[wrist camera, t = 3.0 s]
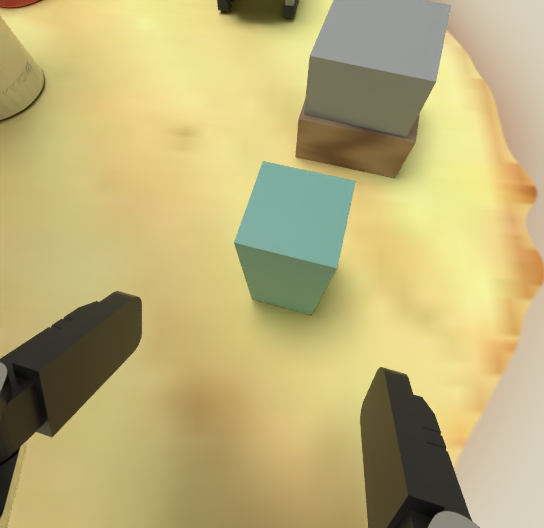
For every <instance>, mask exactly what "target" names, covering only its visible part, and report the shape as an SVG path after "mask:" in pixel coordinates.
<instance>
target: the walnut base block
mask: <svg viewBox="0 0 544 528" xmlns="http://www.w3.org/2000/svg"><path fill="white" fill-rule="evenodd" d="M305 100H306V99H305ZM304 110H305V102H304V105H303V108H302V111H301V114H300V117H299V122H298V133H297V145H296V157H298V158H303V159H308V160H312V161H317V162H322V163H326V164H331V165H336V166H340V167H345V168H350V169H354V170H359V171H364V172H368V173H373V174H378V175H383V176H387V177H392V178H395V176H396V175H397V173H398V171H399V170H400V168H401V166H402V165H403V163H404V161H405V159H406V158H407V156H408V154H409V153H410V151H411V149H412V148H413V146H414V144H415V142H416V135H417V128H418V121H419V115H418V117H417V119H416V120H415V122H414V124H413V126H412V128H411V130H410V132H409V134H408V135H407V137H406V138H405V137H401V136H396V135H392V134H388V133H384V132H379V131H375V130H371V129H366V128H362V127H358V126H354V125H349V124H345V123H341V122H336V121H332V120H328V119H323V118H319V117H315V116H311V115H306V114H304Z"/></svg>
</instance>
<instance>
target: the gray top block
mask: <svg viewBox="0 0 544 528" xmlns="http://www.w3.org/2000/svg"><path fill="white" fill-rule="evenodd" d="M449 12H450V5H447V4H441V3H435V2H429V1H423V0H334V1H333V3H332V5H331V8H330V10H329V12H328V15H327V17H326V19H325V22H324V24H323V26H322V29H321V31H320V33H319V36H318V38H317V40H316V43H315V45H314V47H313V50H312V52H311V54H310V60H309V70H308V80H307V90H306V100H305V110H304V114H306V115H311V116H315V117H319V118H323V119H328V120H332V121H336V122H341V123H345V124H349V125H354V126H358V127H362V128H366V129H371V130H375V131H379V132H384V133H388V134H392V135H396V136H401V137H405V138H406V137H407V135H408V134H409V132H410V130H411V128H412V126H413V124H414V122H415V120H416V119H417V117H418V115H419V113H420V111H421V109H422V107H423V105H424V103H425V102H426V100H427V98H428V96H429V94H430V92H431V90H432V88H433V87H434V85H435V83H436V79H437V74H438V69H439V64H440V59H441V53H442V48H443V43H444V38H445V33H446V27H447V22H448V17H449Z"/></svg>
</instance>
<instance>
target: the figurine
mask: <svg viewBox="0 0 544 528" xmlns="http://www.w3.org/2000/svg"><path fill="white" fill-rule="evenodd" d="M232 1H233V0H217V2H218V10H221V11H229V10H230V7H231V3H232ZM297 4H298V0H285V3H284V11H283V17H288V18H294V15H295V11H296V7H297Z"/></svg>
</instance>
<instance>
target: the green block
mask: <svg viewBox="0 0 544 528" xmlns="http://www.w3.org/2000/svg"><path fill="white" fill-rule="evenodd" d="M355 182H356V181H353V180H348V179H344V178H339V177H334V176H330V175H325V174H320V173H316V172H311V171H307V170H302V169H297V168H293V167H288V166H283V165H279V164H274V163H269V162H265V161H263V163H262V166H261V168H260V171H259V174H258V177H257V180H256V183H255V185H254V188H253V191H252V194H251V197H250V199H249V202H248V205H247V208H246V211H245V213H244V216H243V219H242V222H241V225H240V228H239V230H238V233H237V236H236V239H235V242H234V244H235V247H236V250H237V253H238V257H239V260H240V263H241V266H242V269H243V272H244V276H245V279H246V282H247V285H248V288H249V291H250V294H251V298H252V299H254V300H257V301H261V302H265V303H268V304H272V305H276V306H280V307H283V308H287V309H291V310H294V311H298V312H302V313H306V314H309V315H312V313H313V311H314V310H315V308H316V306H317V304H318V302H319V300H320V299H321V297H322V295H323V293H324V291H325V289H326V288H327V286H328V284H329V282H330V280H331V279H332V277H333V275H334V273H335V271H336V269H337V266H338V262H339V257H340V252H341V248H342V243H343V238H344V233H345V229H346V224H347V219H348V215H349V210H350V205H351V201H352V196H353V191H354V186H355Z"/></svg>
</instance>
